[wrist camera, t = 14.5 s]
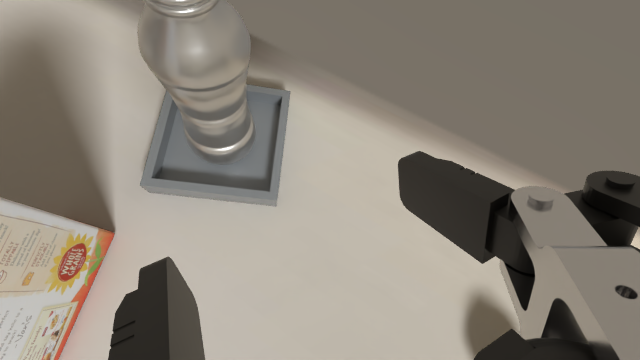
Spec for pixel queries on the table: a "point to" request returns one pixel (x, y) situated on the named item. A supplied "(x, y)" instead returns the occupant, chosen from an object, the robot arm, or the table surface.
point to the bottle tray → (220, 180)
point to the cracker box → (43, 278)
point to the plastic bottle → (202, 72)
